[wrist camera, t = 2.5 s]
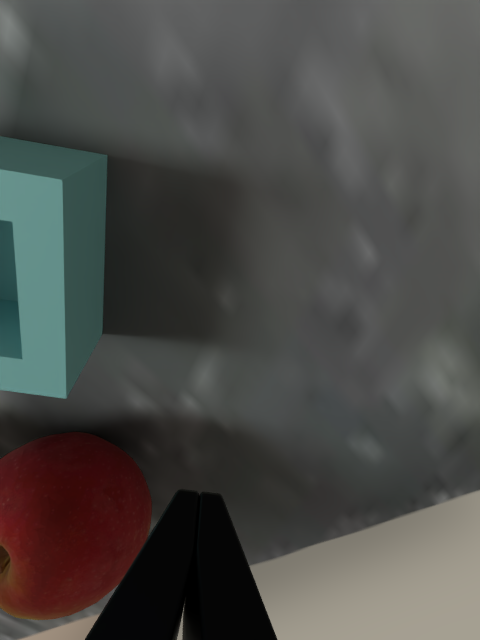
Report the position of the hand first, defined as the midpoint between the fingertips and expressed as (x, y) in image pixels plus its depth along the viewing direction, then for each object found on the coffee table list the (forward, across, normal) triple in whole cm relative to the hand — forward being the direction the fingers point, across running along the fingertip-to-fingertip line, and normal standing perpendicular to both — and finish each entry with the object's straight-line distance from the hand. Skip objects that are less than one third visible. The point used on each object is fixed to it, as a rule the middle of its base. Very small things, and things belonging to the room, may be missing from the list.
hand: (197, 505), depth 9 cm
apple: (+12, +6, +12) cm, 18 cm away
